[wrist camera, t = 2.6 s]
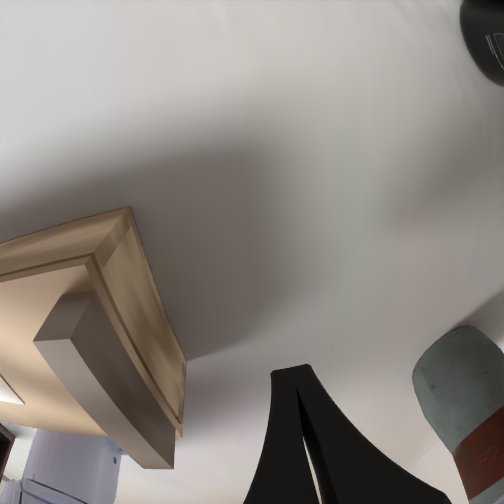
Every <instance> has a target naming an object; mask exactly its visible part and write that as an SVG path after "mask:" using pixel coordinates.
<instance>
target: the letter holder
mask: <svg viewBox="0 0 504 504" xmlns="http://www.w3.org/2000/svg"><path fill="white" fill-rule="evenodd" d="M14 441H15V437H14V436H13V435H11V434H10V433H9V432H8V431H7V430H6V429H5V428H4V427H3V426H2V425H1V424H0V483H1V479H2V476H3V472H4V469H5V466H6V463H7V460H8V457H9V454H10V451H11V448H12V446H13V444H14Z"/></svg>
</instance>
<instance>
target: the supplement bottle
mask: <svg viewBox="0 0 504 504" xmlns="http://www.w3.org/2000/svg"><path fill="white" fill-rule="evenodd" d="M460 25H461V31H462V34H463V38H464V41H465V44H466V46H467V48H468V50H469V53H470V55H471V56H472V58H473V60H474V62H475V63H476V65H477V66H478V68H479V69H480V70H481V71H482V73H483V74H484V75H485V76H486V77H487V78H488V79H489V80H491V81H492V82H493V83H495V84H497V85H499V86H501V87H504V0H463V2H462V4H461V8H460Z"/></svg>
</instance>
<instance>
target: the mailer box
mask: <svg viewBox="0 0 504 504" xmlns="http://www.w3.org/2000/svg"><path fill="white" fill-rule="evenodd" d="M89 256H91V258H92V260H93V263H94V265H95V268H96V270H97V272H98V275H99V277H100V279H101V282H102V284H103V286H104V289H105V291H106V293H107V295H108V298H109V300H110V302H111V304H112V306H113V308H114V311H115V313H116V315H117V317H118V319H119V321H120V323H121V325H122V327H123V329H124V331H125V333H126V335H127V337H128V339H129V341H130V342H131V344H132V346H133V348H134V350H135V352H136V354H137V356H138V357H139V359H140V361H141V363H142V365H143V366H144V368H145V370H146V372H147V373H148V375H149V377H150V378H151V380H152V382H153V383H154V385H155V387H156V388H157V390H158V392H159V393H160V395H161V397H162V398H163V400H164V401H165V403H166V404H167V406H168V408H169V409H170V411H171V412H172V414H173V415H174V417H175V418H176V420H177V421H178V423H179V424H183V407H184V392H185V378H186V365H187V362H186V359H185V357H184V355H183V352H182V350H181V348H180V345H179V343H178V341H177V338H176V336H175V333H174V331H173V329H172V326H171V324H170V321H169V319H168V316H167V313H166V311H165V308H164V306H163V303H162V300H161V298H160V295H159V292H158V290H157V287H156V284H155V281H154V279H153V276H152V273H151V270H150V267H149V264H148V262H147V259H146V256H145V253H144V250H143V247H142V243H141V240H140V237H139V234H138V231H137V228H136V224H135V221H134V218H133V214H132V211H131V208H130V206H129V207H125V208H121V209H117V210H113V211H109V212H105V213H101V214H97V215H94V216H90V217H86V218H82V219H79V220H75V221H72V222H68V223H65V224H61V225H58V226H54V227H51V228H48V229H44V230H41V231H38V232H35V233H31V234H28V235H25V236H22V237H19V238H16V239H13V240H10V241H7V242H4V243H1V244H0V277H1V276H6V275H10V274H14V273H18V272H22V271H27V270H31V269H35V268H39V267H44V266H48V265H52V264H57V263H61V262H66V261H70V260H75V259H79V258H84V257H89Z"/></svg>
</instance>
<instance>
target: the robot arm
mask: <svg viewBox="0 0 504 504" xmlns="http://www.w3.org/2000/svg"><path fill="white" fill-rule="evenodd" d="M270 374H271V406H270V413H269V420H268V427H267V432H266V436H265V441H264V445H263V449H262V453H261V457H260V460H259V463H258V467H257V470H256V473H255V476H254V478H253V481H252V484H251V486H250V489H249V491H248V494H247V496H246V499H245V501H244V503H243V504H319V500H318V496H317V493H316V489H315V485H314V481H313V478H312V474H311V470H310V466H309V462H308V458H307V454H306V450H305V446H304V441H305V444H306V447H307V450H308V453H309V456H310V459H311V462H312V465H313V467H314V471H315V474H316V478H317V481H318V486H319V491H320V495H321V500H322V504H452V503H451V501H450V500H449V498H448V497H447V496H446V494H445V493H443V492H442V491H440V490H438V489H436V488H434V487H432V486H430V485H428V484H427V483H425V482H423V481H421V480H420V479H418V478H416V477H415V476H413V475H412V474H410V473H409V472H407V471H406V470H404V469H403V468H402V467H400V466H399V465H397V464H396V463H395V462H393V461H392V460H391V459H389V458H388V457H387V456H386V455H384V454H383V453H382V452H381V451H380V450H379V449H377V448H376V447H375V446H374V445H373V444H372V443H371V442H370V441H369V440H368V439H366V438H365V437H364V436H363V435H362V434H361V433H360V432H359V430H358V429H357V428H356V427H355V426H354V425H353V424H352V423H351V422H350V421H349V420H348V418H347V417H346V416H345V415H344V414H343V413H342V411H341V410H340V409H339V408H338V406H337V405H336V404H335V403H334V401H333V400H332V399H331V397H330V396H329V395H328V393H327V392H326V390H325V389H324V387H323V386H322V384H321V383H320V381H319V380H318V378H317V376H316V375H315V373H314V371H313V369H312V367H311V365H309V364H304V365H300V366H295V367H290V368H285V369H280V370H274V371H272V372H271V373H270ZM303 438H304V441H303ZM121 455H128V454H127V453H126V452H125V451H123V450H122V449H121V448H120V447H119V446H118V445H117V444H116V443H115V442H114V441H113V440H112V439H111V438H110V437H107V436H93V435H82V434H73V433H65V432H57V431H51V430H44V429H39V428H37V431H36V434H35V437H34V440H33V443H32V446H31V449H30V452H29V456H28V459H27V462H26V466H25V469H24V473H23V477H22V479H21V480H19V481H17V480H16V479H12V480H10V481H7V482H6V484H5V486H4V489H3V491H2V494H1V498H0V504H113V503H114V501H115V498H116V491H117V483H118V476H119V468H120V462H121ZM491 504H504V495H502V496H501V497H500V498H498V499H497V500H496V501H494V502H493V503H491Z"/></svg>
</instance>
